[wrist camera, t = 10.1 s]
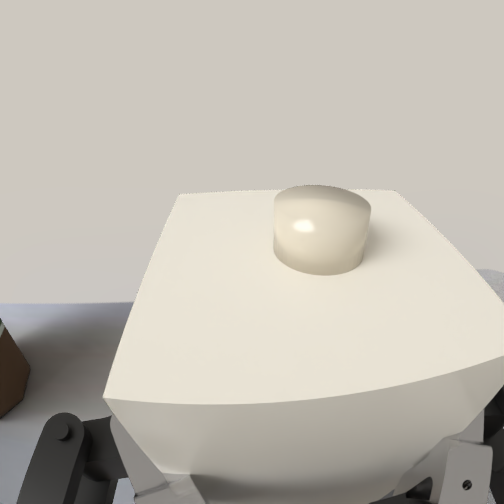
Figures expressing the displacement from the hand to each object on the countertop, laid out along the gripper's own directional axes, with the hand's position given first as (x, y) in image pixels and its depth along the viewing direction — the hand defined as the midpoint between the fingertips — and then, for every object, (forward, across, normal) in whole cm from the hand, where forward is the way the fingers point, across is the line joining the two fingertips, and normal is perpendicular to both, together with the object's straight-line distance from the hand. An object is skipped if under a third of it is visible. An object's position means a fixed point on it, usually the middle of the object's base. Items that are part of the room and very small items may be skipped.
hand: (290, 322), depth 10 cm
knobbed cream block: (-2, 0, +6) cm, 6 cm away
